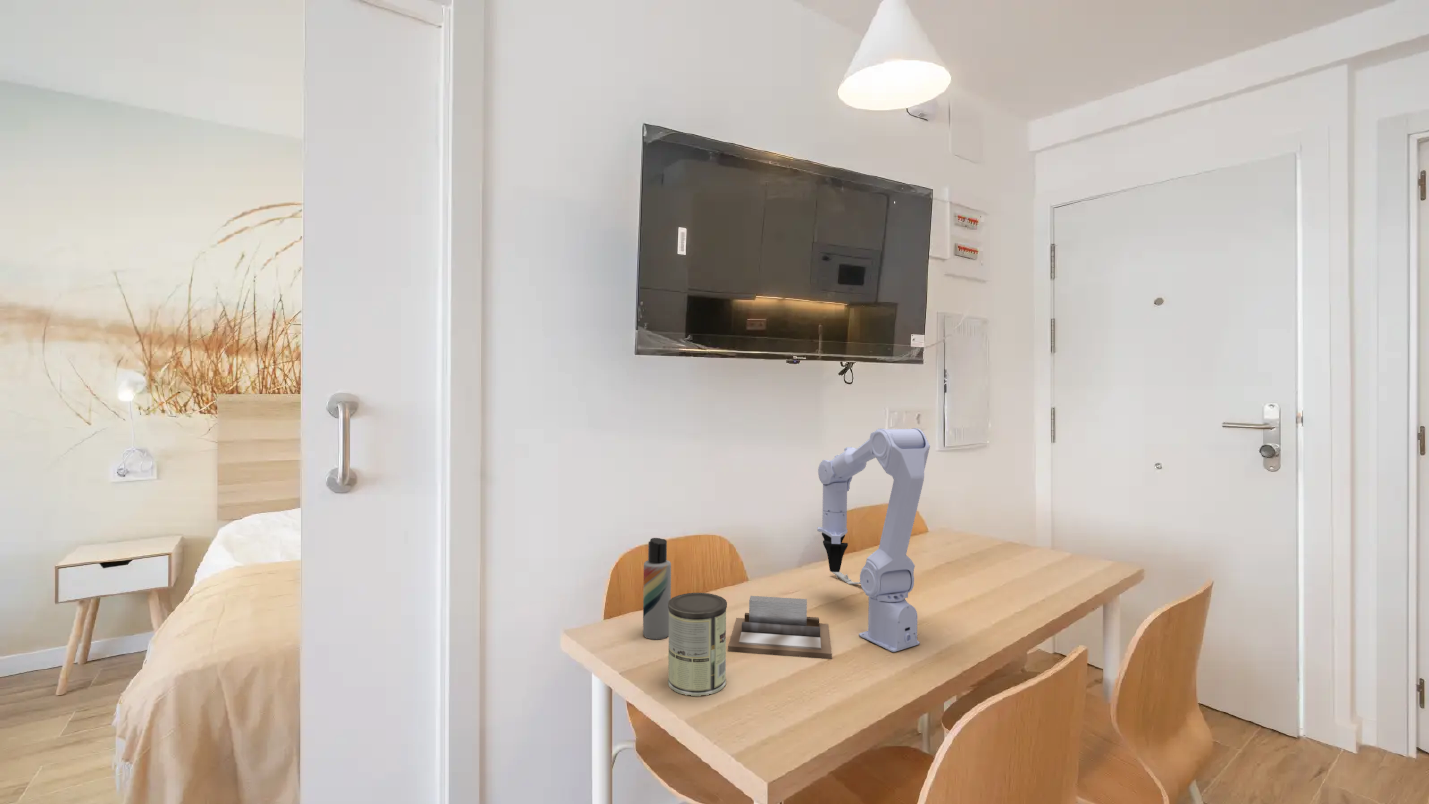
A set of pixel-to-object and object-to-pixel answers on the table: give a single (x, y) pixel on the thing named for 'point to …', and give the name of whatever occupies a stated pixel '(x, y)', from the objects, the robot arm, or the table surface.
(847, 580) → the bracket
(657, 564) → the lotion bottle
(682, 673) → the coffee can
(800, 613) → the grey speckled stone slab
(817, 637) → the hinge base
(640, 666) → the table surface
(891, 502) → the robot arm
